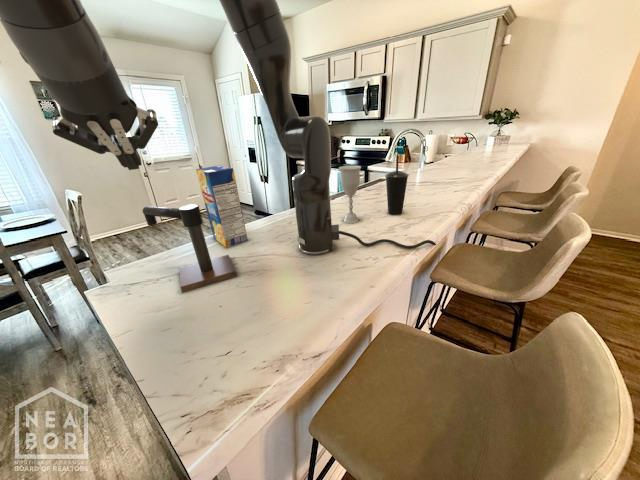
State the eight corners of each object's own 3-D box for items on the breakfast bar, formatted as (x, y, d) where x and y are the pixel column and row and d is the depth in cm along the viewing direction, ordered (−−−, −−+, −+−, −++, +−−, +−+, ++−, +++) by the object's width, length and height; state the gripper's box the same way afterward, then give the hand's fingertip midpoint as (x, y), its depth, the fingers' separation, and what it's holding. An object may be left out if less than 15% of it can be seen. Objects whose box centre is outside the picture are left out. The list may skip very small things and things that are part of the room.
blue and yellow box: (226, 247, 78) (208, 172, 69) (213, 237, 86) (195, 169, 77) (248, 240, 82) (233, 168, 73) (233, 231, 90) (218, 165, 80)
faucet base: (229, 259, 71) (218, 213, 66) (237, 276, 63) (225, 225, 57) (181, 272, 66) (164, 224, 61) (182, 292, 58) (163, 239, 53)
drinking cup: (383, 210, 98) (384, 154, 90) (404, 209, 97) (407, 153, 89) (384, 217, 92) (386, 157, 83) (407, 216, 90) (411, 156, 82)
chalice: (364, 218, 92) (364, 165, 84) (356, 225, 87) (355, 169, 79) (346, 216, 95) (344, 165, 88) (337, 222, 90) (334, 169, 83)
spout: (208, 226, 60) (202, 204, 58) (194, 232, 57) (188, 210, 55) (156, 221, 67) (150, 201, 65) (142, 226, 63) (134, 206, 61)
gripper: (133, 39, 33) (172, 144, 48) (-6, 38, 29) (85, 155, 44) (141, 76, 31) (180, 175, 46) (-11, 82, 26) (88, 190, 41)
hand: (133, 165), depth 45 cm, fingers closed
